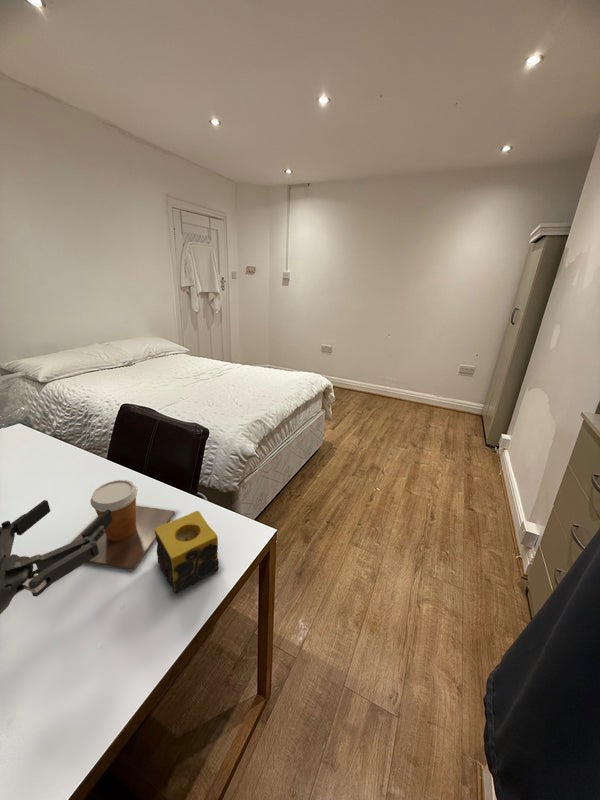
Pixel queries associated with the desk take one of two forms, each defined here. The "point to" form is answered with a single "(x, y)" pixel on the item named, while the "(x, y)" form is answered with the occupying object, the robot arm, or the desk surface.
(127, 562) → the placemat
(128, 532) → the disposable coffee cup
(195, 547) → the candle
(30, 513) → the robot arm
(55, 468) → the desk surface
